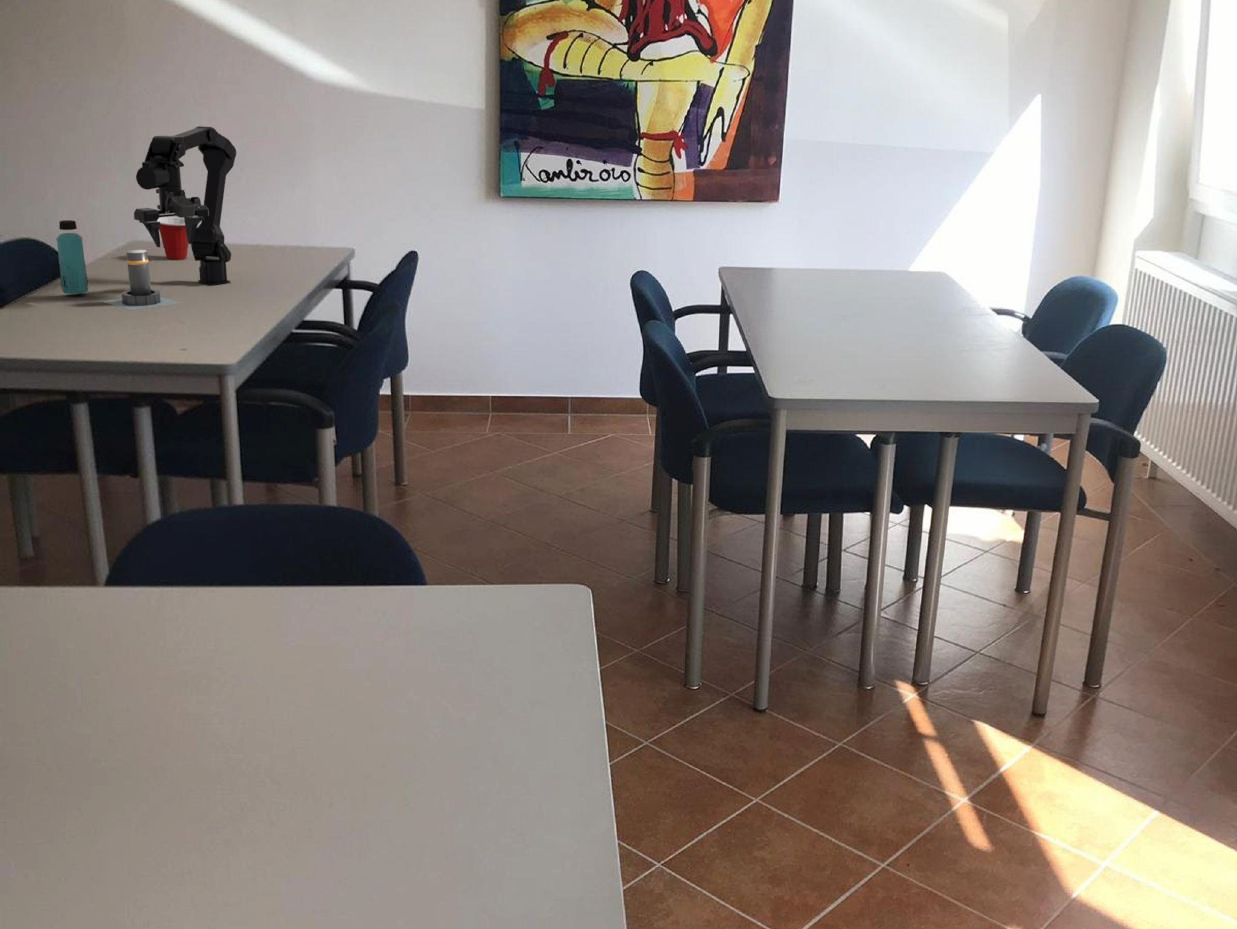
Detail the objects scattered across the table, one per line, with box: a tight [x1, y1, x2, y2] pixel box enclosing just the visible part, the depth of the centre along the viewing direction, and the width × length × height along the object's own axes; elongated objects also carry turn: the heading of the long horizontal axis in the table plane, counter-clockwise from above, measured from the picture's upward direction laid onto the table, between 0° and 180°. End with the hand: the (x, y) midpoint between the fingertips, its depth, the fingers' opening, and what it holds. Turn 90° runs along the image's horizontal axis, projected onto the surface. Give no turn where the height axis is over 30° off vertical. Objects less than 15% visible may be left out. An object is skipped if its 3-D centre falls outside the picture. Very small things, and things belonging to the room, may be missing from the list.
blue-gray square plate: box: [102, 296, 181, 311], centre depth 333 cm, size 14×14×1 cm
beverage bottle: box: [56, 219, 89, 295], centre depth 336 cm, size 6×7×20 cm
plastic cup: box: [157, 216, 189, 261], centre depth 396 cm, size 11×11×12 cm
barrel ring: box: [121, 288, 161, 306], centre depth 333 cm, size 9×9×2 cm
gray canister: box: [125, 249, 152, 295], centre depth 331 cm, size 5×5×13 cm
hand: (174, 245), depth 343 cm, fingers open, 9 cm apart
